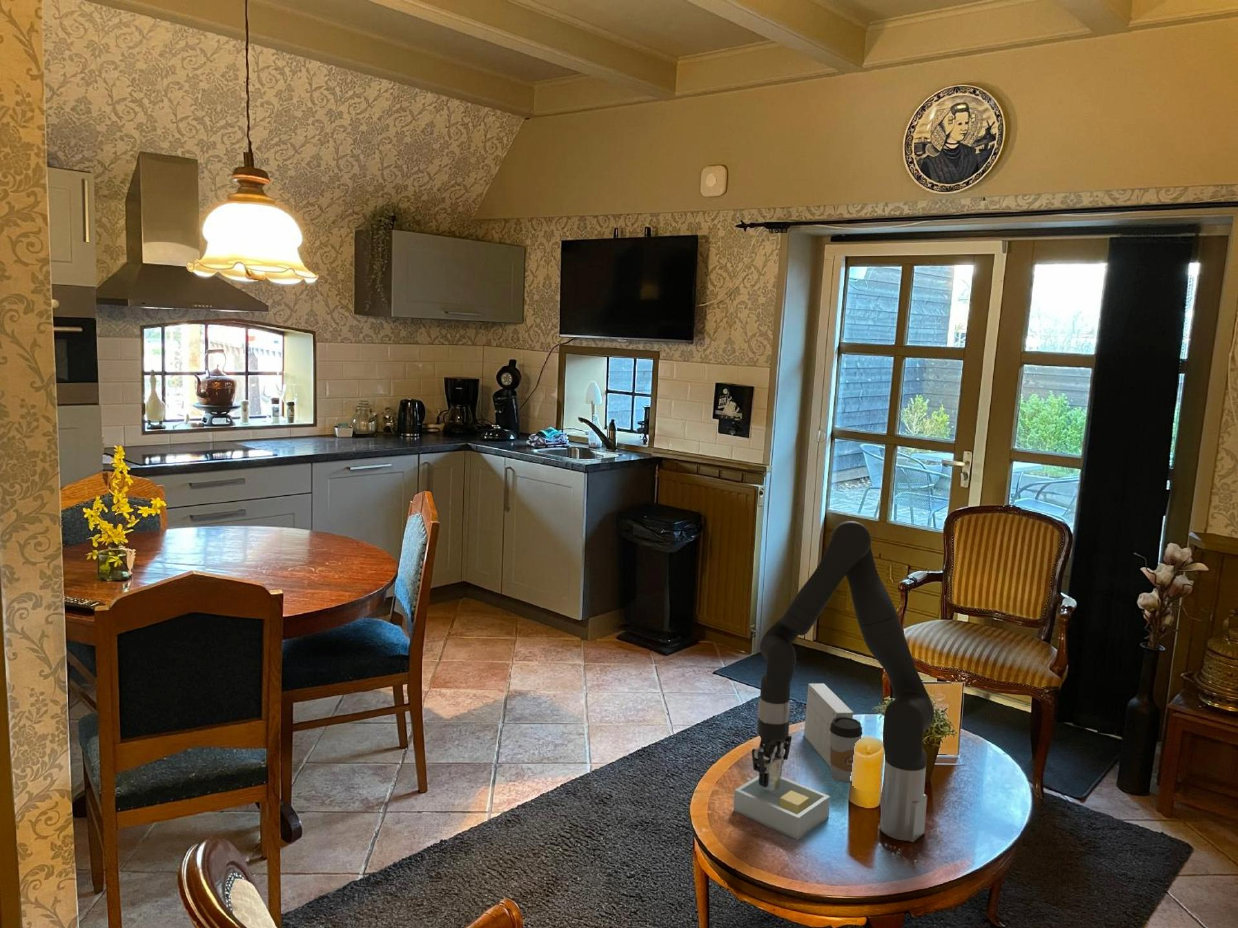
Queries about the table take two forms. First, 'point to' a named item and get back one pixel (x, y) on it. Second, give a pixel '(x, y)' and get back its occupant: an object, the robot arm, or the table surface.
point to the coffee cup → (843, 746)
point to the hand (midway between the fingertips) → (769, 781)
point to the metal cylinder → (774, 774)
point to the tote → (767, 811)
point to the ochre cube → (794, 802)
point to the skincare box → (822, 717)
